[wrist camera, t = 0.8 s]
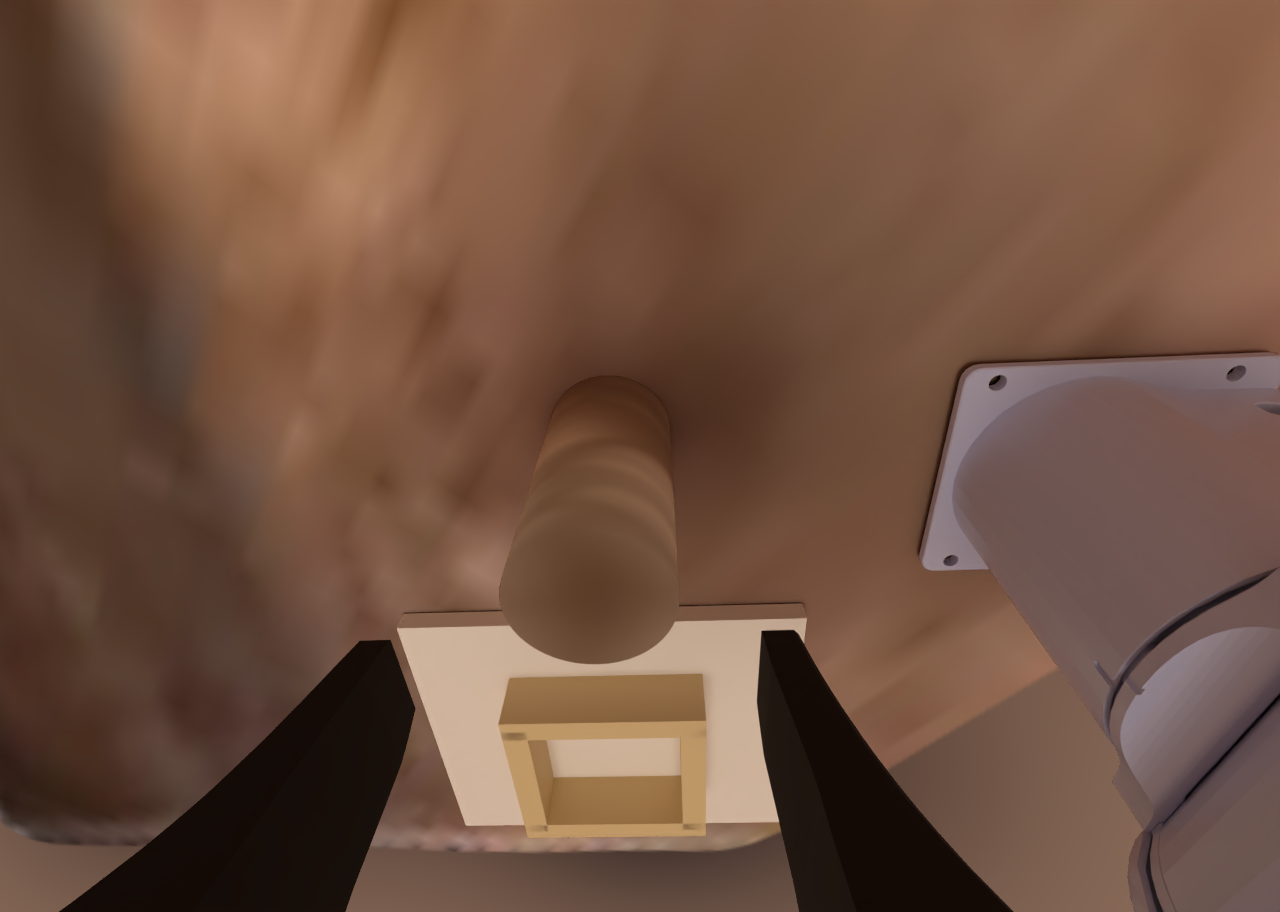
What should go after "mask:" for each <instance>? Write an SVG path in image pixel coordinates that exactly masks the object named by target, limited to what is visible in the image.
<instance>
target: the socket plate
mask: <svg viewBox="0 0 1280 912" xmlns="http://www.w3.org/2000/svg"><path fill="white" fill-rule="evenodd" d="M806 621H807V617H806V614H805V610H804V607H803V604H802V603H798V604H759V605H720V606H681V607H679V610H678V614H677V618H676V620H675V622H674V625H673V627H672V628H671V630H670V631H669V633H668V634H667V635H666V636H665V637H664V638H663V640H661V641H660V642H659V643H658V644H657V645H656V646H654V647H653V648H651V649H650V650H648V651H647V652H645V653H643V654H641V655H639V656H636V657H634V658H631V659H628V660H624V661H620V662H615V663H609V664H580V663H573V662H568V661H564V660H560V659H557V658H554V657H551V656H549V655H547V654H544V653H542V652H540V651H538V650H537V649H535V648H533V647H532V646H530V645H529V644H527V643H526V642H525V641H524V640H522V639H521V638H520V637H519V636H518V635H517V634H516V633H515V632H514V631H513V629H512V628H511V627H510V625H509V624H508V622H507V621H506V619H505V617H504V615H503V612H502V611H487V612H449V613H410V614H403V616H402V619H401V621H400V623H399V625H398V627H397V631H398V633H399V636H400V639H401V642H402V645H403V648H404V650H405V653H406V656H407V659H408V662H409V665H410V668H411V670H412V673H413V676H414V679H415V682H416V685H417V687H418V690H419V693H420V696H421V699H422V702H423V705H424V707H425V710H426V713H427V716H428V719H429V722H430V724H431V727H432V730H433V733H434V736H435V739H436V742H437V744H438V747H439V750H440V753H441V756H442V759H443V761H444V764H445V767H446V770H447V773H448V776H449V779H450V781H451V784H452V787H453V790H454V793H455V796H456V798H457V801H458V804H459V807H460V810H461V813H462V816H463V818H464V821H465V824H466V826H476V825H525V828H526V832H527V836H528V838H546V837H640V836H706V823H738V822H779V819H778V815H777V811H776V806H775V802H774V798H773V794H772V789H771V785H770V781H769V776H768V772H767V768H766V763H765V759H764V754H763V746H762V739H761V732H760V724H759V716H758V708H757V689H758V674H759V659H760V645H761V631H765V630H795V631H796V632H797V633H798V634H799V635H800V637H801V639H802V641H803V643H804V638H805V629H806Z"/></svg>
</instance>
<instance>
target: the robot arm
mask: <svg viewBox="0 0 1280 912" xmlns="http://www.w3.org/2000/svg"><path fill="white" fill-rule="evenodd" d="M1234 367H1235V369H1234V370H1233V371H1232V372H1231V373H1230V374H1228V375H1227V373H1228V372H1229V371H1230V370H1231V369H1232V368H1234ZM998 375H1000V376H1001V378H1000V379H999V381H998V382H997V383H996V384H994V385H991V386H989V382H990V380H991V379H992V378H993V377H995V376H998ZM1279 386H1280V355H1278V354H1276V353H1271V352H1260V353H1236V354H1212V355H1187V356H1163V357H1138V358H1114V359H1090V360H1065V361H1041V362H1017V363H992V364H977V365H973V366H971V367H969V368H968V369H966V370H965V371H964V372H963V373H962V375H961V377H960V380H959V384H958V388H957V393H956V397H955V401H954V406H953V410H952V414H951V419H950V423H949V428H948V432H947V436H946V441H945V445H944V449H943V454H942V458H941V462H940V467H939V471H938V475H937V480H936V484H935V489H934V493H933V497H932V502H931V506H930V510H929V515H928V519H927V523H926V528H925V532H924V537H923V541H922V545H921V550H920V554H919V560H920V561H921V563H922V565H923V566H924V568H926V569H927V570H932V571H942V570H978V569H989V570H990V571H991V573H992V574H993V575H994V577H995V578H996V580H997V581H998V583H999V584H1000V585H1001V587H1002V588H1003V590H1004V591H1005V593H1006V594H1007V595H1008V597H1009V598H1010V600H1011V601H1012V602H1013V604H1014V605H1015V607H1016V608H1017V610H1018V611H1019V612H1020V614H1021V615H1022V617H1023V618H1024V620H1025V621H1026V622H1027V624H1028V625H1029V627H1030V628H1031V630H1032V631H1033V632H1034V634H1035V635H1036V637H1037V638H1038V640H1039V641H1040V642H1041V644H1042V645H1043V647H1044V648H1045V649H1046V651H1047V652H1048V654H1049V655H1050V657H1051V658H1052V659H1053V661H1054V662H1055V664H1056V665H1057V667H1058V668H1059V669H1060V671H1061V672H1062V674H1063V675H1064V677H1065V678H1066V679H1067V681H1068V682H1069V684H1070V685H1071V687H1072V688H1073V689H1074V690H1075V692H1076V694H1077V695H1078V696H1079V698H1080V699H1081V701H1082V702H1083V703H1084V705H1085V706H1086V708H1087V709H1088V711H1089V712H1090V714H1091V715H1092V716H1093V718H1094V719H1095V721H1096V722H1097V724H1098V725H1099V726H1100V728H1101V729H1102V731H1103V732H1104V733H1105V735H1106V736H1107V738H1108V739H1109V740H1110V741H1111V743H1112V744H1113V745H1114V747H1115V749H1116V751H1117V753H1118V756H1119V759H1120V765H1119V769H1118V771H1117V773H1116V774H1115V776H1114V777H1113V780H1112V783H1113V784H1114V786H1115V788H1116V789H1117V791H1118V792H1119V794H1120V795H1121V797H1122V798H1123V800H1124V801H1125V803H1126V804H1127V806H1128V807H1129V809H1130V810H1131V812H1132V813H1133V815H1134V816H1135V818H1136V819H1137V821H1138V822H1139V824H1140V825H1141V827H1142V828H1143V831H1142V832H1141V833H1140V835H1139V836H1138V837H1137V838H1136V839H1135V842H1134V845H1133V847H1132V850H1131V853H1130V856H1129V864H1128V883H1129V890H1130V898H1131V902H1132V905H1133V908H1134V911H1135V912H1280V390H1278V387H1279ZM950 555H953V556H952V557H950V558H948V559H945V558H946V557H947V556H950ZM757 708H758V716H759V724H760V732H761V739H762V746H763V754H764V759H765V763H766V768H767V772H768V776H769V781H770V785H771V789H772V794H773V798H774V802H775V806H776V811H777V815H778V819H779V823H780V827H781V832H782V836H783V840H784V844H785V848H786V853H787V857H788V861H789V866H790V870H791V874H792V878H793V883H794V887H795V893H796V898H797V903H798V908H799V912H1013V911H1012V910H1011V909H1010V908H1009V907H1008V906H1007V905H1006V904H1005V903H1004V902H1003V901H1002V900H1001V899H1000V898H999V897H998V896H997V895H996V894H995V893H994V892H993V890H992V889H991V888H989V886H988V885H986V883H984V882H983V880H982V879H981V878H980V877H979V876H978V875H977V874H976V873H975V872H974V871H973V870H972V869H971V868H970V867H969V866H968V865H967V864H966V863H965V862H964V861H963V859H962V858H961V857H960V856H959V855H958V854H957V853H956V852H955V851H954V849H953V848H952V847H951V846H950V845H949V844H948V843H947V842H946V841H945V840H944V838H942V836H941V835H940V834H939V833H938V832H937V831H936V829H935V828H934V827H933V826H932V825H931V824H930V822H929V821H928V820H927V819H926V818H925V817H924V815H923V814H922V813H921V812H920V811H919V810H918V808H917V807H916V806H915V805H914V804H913V802H912V801H911V800H910V799H909V797H908V796H907V795H906V794H905V793H904V791H903V790H902V789H901V788H900V786H899V785H898V784H897V783H896V781H895V780H894V779H893V777H892V776H891V775H890V773H889V772H888V771H887V770H886V768H885V767H884V766H883V764H882V763H881V762H880V760H879V759H878V758H877V756H876V755H875V754H874V752H873V751H872V750H871V748H870V747H869V745H868V744H867V743H866V741H865V740H864V739H863V737H862V736H861V734H860V733H859V731H858V730H857V728H856V727H855V726H854V724H853V723H852V721H851V720H850V718H849V717H848V715H847V714H846V712H845V711H844V709H843V708H842V707H841V705H840V703H839V702H838V700H837V699H836V697H835V696H834V694H833V693H832V691H831V689H830V688H829V686H828V685H827V683H826V681H825V680H824V678H823V677H822V675H821V673H820V672H819V670H818V668H817V666H816V665H815V663H814V661H813V660H812V658H811V656H810V654H809V652H808V651H807V649H806V647H805V645H804V643H803V641H802V639H801V637H800V635H799V634H798V633H797V632H796V631H795V630H765V631H761V645H760V659H759V674H758V689H757ZM414 712H415V706H414V703H413V701H412V698H411V695H410V692H409V690H408V687H407V684H406V681H405V679H404V676H403V673H402V670H401V668H400V665H399V662H398V659H397V657H396V654H395V651H394V648H393V646H392V643H391V640H374V641H359V642H358V643H357V644H356V645H355V646H354V648H353V649H352V650H351V651H350V652H349V653H348V654H347V655H346V656H345V657H344V658H343V659H342V660H341V661H340V662H339V663H338V664H337V665H336V666H335V667H334V668H333V669H332V670H331V671H330V672H329V673H328V674H327V676H326V677H325V678H324V679H323V680H322V681H321V682H320V683H319V684H318V685H317V686H316V687H315V688H314V689H313V690H312V691H311V692H310V693H309V694H308V695H307V696H306V698H305V699H304V700H303V701H302V702H301V703H300V704H299V705H298V706H297V707H296V708H295V709H294V710H293V711H292V712H291V713H290V714H289V715H288V716H287V717H286V718H285V719H284V720H283V721H282V722H281V723H280V724H279V725H278V726H277V727H276V728H275V729H274V730H273V731H272V732H271V733H270V734H269V735H268V736H267V737H266V738H265V739H264V740H263V741H262V742H261V743H260V744H259V745H258V746H257V747H256V748H255V749H254V750H253V751H252V752H251V753H250V754H249V755H248V756H247V757H246V758H244V759H243V760H242V761H241V762H240V763H239V764H238V765H237V766H236V767H235V768H234V769H233V770H232V771H231V772H230V773H229V774H228V775H227V776H226V777H224V778H223V779H222V780H221V781H220V782H219V783H218V784H217V785H216V786H215V787H214V788H213V789H212V790H211V791H209V792H208V793H207V794H206V795H205V796H204V797H203V798H202V799H200V800H199V801H198V802H197V803H196V804H195V805H194V806H192V807H191V808H190V809H189V810H188V811H187V812H186V813H184V814H183V815H182V816H181V817H180V818H178V819H177V820H176V821H175V822H174V823H172V824H171V825H170V826H169V827H168V828H166V829H165V830H164V831H163V832H162V833H161V834H159V835H158V836H157V837H156V838H155V839H153V840H152V841H151V842H150V843H148V844H147V845H146V846H145V847H144V848H142V849H141V850H140V851H139V852H137V853H136V854H135V855H133V856H132V857H131V858H129V859H128V860H127V861H125V862H124V863H123V864H122V865H120V866H119V867H118V868H116V869H115V870H114V871H112V872H111V873H110V874H109V875H107V876H106V877H105V878H103V879H102V880H101V881H99V882H98V883H97V884H96V885H94V886H93V887H91V888H90V889H89V890H88V891H87V892H85V893H84V894H82V895H81V896H80V897H78V898H77V899H76V900H75V901H73V902H72V903H71V904H69V905H68V906H66V907H65V908H64V909H62V910H61V911H59V912H345V911H346V908H347V905H348V902H349V900H350V896H351V894H352V891H353V888H354V885H355V883H356V880H357V878H358V875H359V872H360V870H361V867H362V865H363V862H364V860H365V857H366V854H367V852H368V849H369V847H370V844H371V842H372V839H373V836H374V834H375V831H376V829H377V826H378V824H379V821H380V818H381V816H382V813H383V811H384V808H385V805H386V803H387V800H388V798H389V795H390V792H391V790H392V787H393V784H394V782H395V779H396V777H397V774H398V771H399V768H400V766H401V763H402V760H403V756H404V752H405V748H406V745H407V741H408V737H409V733H410V729H411V725H412V721H413V716H414Z"/></svg>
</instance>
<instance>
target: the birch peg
mask: <svg viewBox="0 0 1280 912" xmlns="http://www.w3.org/2000/svg"><path fill="white" fill-rule="evenodd" d="M499 600H500V606H501V609H502V612H503V615H504V617H505V619H506V621H507V622H508V624H509V625H510V627H511V628H512V629H513V631H514V632H515V633H516V634H517V635H518V636H519V637H520V638H521V639H522V640H524V641H525V642H526V643H527V644H529V645H530V646H532V647H533V648H535V649H537V650H538V651H540V652H542V653H544V654H547V655H549V656H551V657H554V658H557V659H560V660H564V661H568V662H573V663H580V664H609V663H615V662H620V661H624V660H628V659H631V658H634V657H636V656H639V655H641V654H643V653H645V652H647V651H648V650H650V649H651V648H653V647H654V646H656V645H657V644H658V643H659V642H660V641H661V640H663V638H664V637H665V636H666V635H667V634H668V633H669V631H670V630H671V628H672V627H673V625H674V622H675V620H676V618H677V614H678V610H679V585H678V566H677V547H676V529H675V510H674V491H673V472H672V454H671V435H670V423H669V418H668V415H667V412H666V410H665V408H664V406H663V405H662V403H661V401H660V400H659V399H658V398H657V396H656V395H654V394H653V393H652V392H651V391H650V390H649V389H647V388H646V387H645V386H643V385H641V384H639V383H638V382H635V381H633V380H630V379H627V378H623V377H617V376H599V377H594V378H589V379H587V380H584V381H581V382H579V383H578V384H576V385H574V386H573V387H571V388H570V389H568V390H567V391H566V392H565V393H564V394H563V395H562V397H561V398H560V399H559V400H558V402H557V404H556V406H555V408H554V410H553V413H552V416H551V419H550V422H549V426H548V429H547V432H546V435H545V439H544V442H543V445H542V448H541V452H540V455H539V458H538V461H537V465H536V468H535V471H534V474H533V477H532V481H531V484H530V487H529V490H528V494H527V497H526V500H525V503H524V507H523V510H522V513H521V516H520V520H519V523H518V526H517V529H516V533H515V536H514V539H513V542H512V546H511V549H510V552H509V555H508V559H507V562H506V565H505V568H504V572H503V575H502V578H501V582H500V587H499Z"/></svg>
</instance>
